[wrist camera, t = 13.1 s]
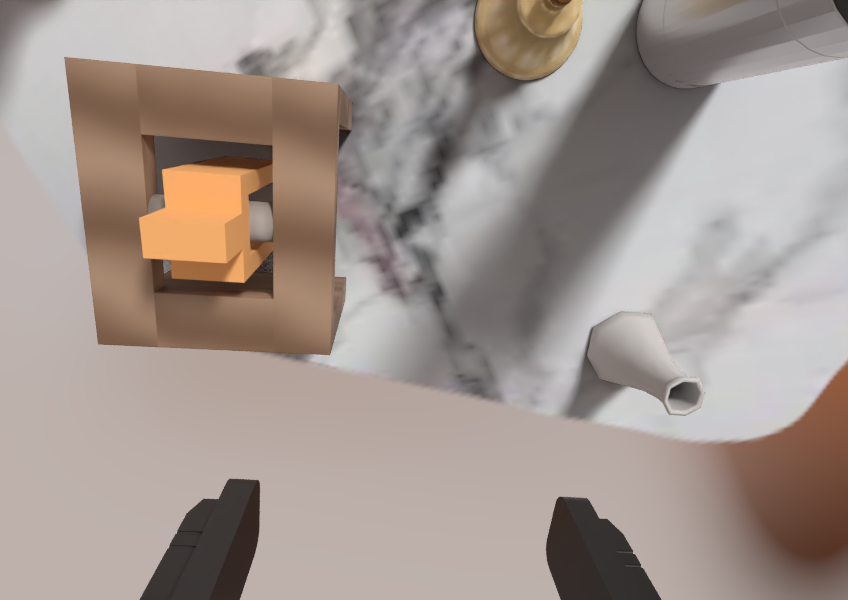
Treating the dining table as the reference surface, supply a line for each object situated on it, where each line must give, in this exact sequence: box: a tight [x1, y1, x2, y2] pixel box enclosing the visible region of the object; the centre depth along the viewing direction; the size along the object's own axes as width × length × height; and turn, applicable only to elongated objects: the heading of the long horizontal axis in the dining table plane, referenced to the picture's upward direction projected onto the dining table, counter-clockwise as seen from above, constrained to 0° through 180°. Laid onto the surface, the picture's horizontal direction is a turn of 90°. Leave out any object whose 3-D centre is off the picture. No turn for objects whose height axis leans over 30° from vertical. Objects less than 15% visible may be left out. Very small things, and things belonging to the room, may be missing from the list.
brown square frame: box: [64, 57, 353, 355], centre depth 34 cm, size 16×14×12 cm
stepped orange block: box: [139, 156, 273, 283], centre depth 30 cm, size 6×4×14 cm, turn 175°
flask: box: [587, 311, 705, 416], centre depth 41 cm, size 7×7×10 cm
